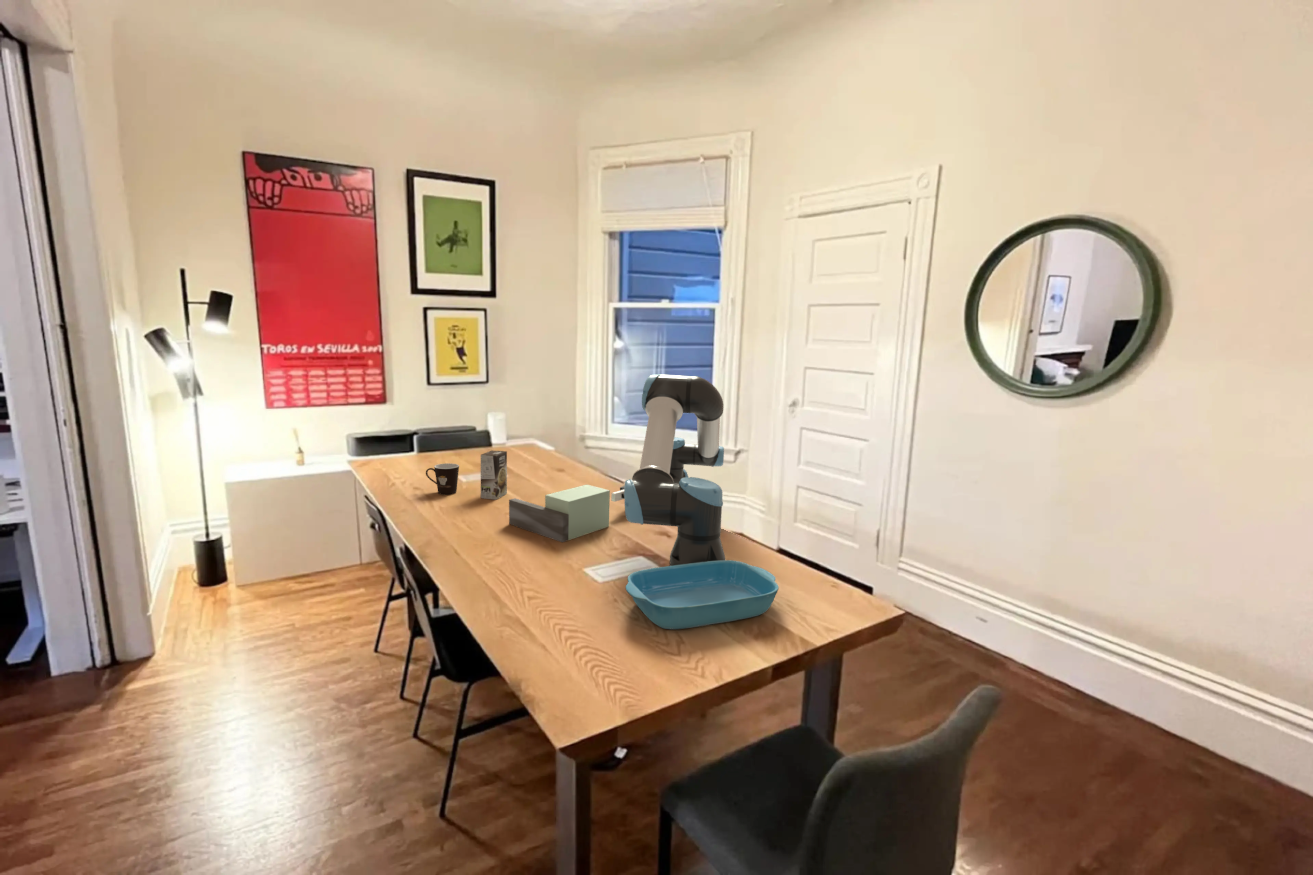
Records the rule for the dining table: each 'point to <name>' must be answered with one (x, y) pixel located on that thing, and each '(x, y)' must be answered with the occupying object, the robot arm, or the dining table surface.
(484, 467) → the coffee box
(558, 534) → the charcoal board
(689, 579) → the casserole dish
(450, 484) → the coffee mug
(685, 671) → the dining table surface
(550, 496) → the sage block
